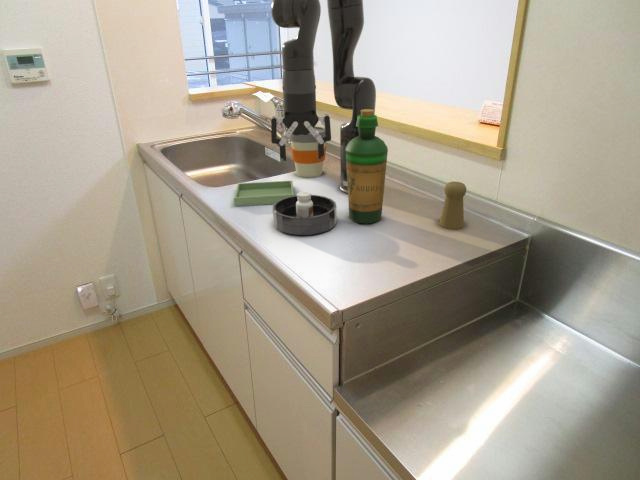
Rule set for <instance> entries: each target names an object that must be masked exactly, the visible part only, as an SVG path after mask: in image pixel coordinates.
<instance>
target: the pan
mask: <svg viewBox="0 0 640 480" xmlns="http://www.w3.org/2000/svg"><path fill="white" fill-rule="evenodd" d="M310 200H311V201H312V202H313V217H297V215H296V202H297V201H298V199H297V195H294V196H291V197H287V198H284V199H281V200H279V201H277V202H276V203H275V204H272V214H273V216H272V217H273V226H274V227H275V229H276V230H278V231H280V232H282V233H284V234H289V235H298V236H309V235H317V234H321V233H324V232H328V231H329V230H331V229H332V228H334V227H335V226H336V224H337V222H338V221H337V220H338V219H337V217H338V215H337V214H338V213H337V211H338V210H337V204H336V201H334V200H333V199H332V198H330V197H327V196H323V195H317V194H311V199H310Z"/></svg>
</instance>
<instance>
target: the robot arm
mask: <svg viewBox="0 0 640 480" xmlns="http://www.w3.org/2000/svg"><path fill="white" fill-rule="evenodd" d="M326 4H327V6H326V7H327V14H328V15H327V16H328V24H329V30H330V40H331V52H332V72H333V73H332V77H333V78H332V79H333V81H332V82H333V83H332V84H333V85H332V86H333V97H334V100H335V104H336V105H337V107H339V108H340V109H343V110H348V111H352V115H351V119H350V120H349V121H346V122H343V123H342V124H340V129H339V130H340V131H339V132H340V133H339V136H340V137H339V138H340V140H339V143H340V144H339V145H340V146H339V147H340V148H339V150H340V153H339V154H340V155H339V156H340V158H339V159H340V189H339V190H340V191H341V192H343V193H344V194H348V184H347V167H346V146H347V145H348V143H349V142H350V141H351V140H352V139H354V138H355V137H357V136H359V131H358V127H357V126H356V122H357V117H358V115H361V110H364V109H372V110H374V114H373V115H376V101H377V89H376V85H375V82H374V81H373V80H372V79H371V78H370V77H366V76H355V72H354V56H355V51H356V48H357V45H358V43H359V40H360V38H361V35H362V33H363V29H364V26H365V14H364V13H365V12H364V0H326ZM321 7H322V6H321V1H320V0H271V6H270V14H271V18H272V21H273V22H274V23H275V24H276V26H277V27H279V28H283V29H298V33H297V35H296V37H295V38H293V39H289V40H287V41H285V42H283V44H282V45H281V60H282V62H281V63H282V79H281V81H282V84H281V85H282V87H281V89H282V96H283V97H282V99H283V101H282V102H283V116H282V117H280V116H275V115H273V116H271V118H270V123H271V125H270V126H271V127H270V129H271V130H270V131H271V135H270V137H271V143H272V144H276V145H277V146H279V157H280V159H281V160H283V162H287V149H286V143H287V141H288V140H289V138H290V136H291V134H293V135H301V134H302V135H308V134H310V133H311V134H312V135H313V136H314V137H315V138H316V140H317V141H318V142H317V144H318V159H321V157H323V156H324V143H325V144H326V143H328V142H331V140H332V130H331V128H332V127H331V117H330V115H329V114H328V113H325V114H324V115H318V114H317V94H316V93H317V92H316V89H317V85H316V75H315V57H314V49H315V48H314V47H315V43H316V37H317V32H318V27H319V23H320V19H321V13H322V11H321ZM319 122H320V123H321V125H322V126H323V127H324V128H325V136H322V137H321V135H320V134H319V133H318V131H317V130H316V129H315V128H314V127H317V124H318V123H319ZM282 123H283V125H284V126H285V127H286V129H285V130H284V132H283V133H282V135H281V137H278V136H277V135H278V133H277V130H278V129H277V128H279V127H280V126H281V124H282Z"/></svg>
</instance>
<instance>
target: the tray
mask: <svg viewBox="0 0 640 480" xmlns="http://www.w3.org/2000/svg"><path fill="white" fill-rule="evenodd" d="M291 196H295V193H294V181H293V180H279V181H258V182H240V183H239V182H238V183H237V184H236V189H235V193H234V196H233V201H234V207H244V206H246V207H247V206H261V205H263V206H264V205H274V204H275V203H276V202H277V201H279V200H281V199H284V198H287V197H291Z"/></svg>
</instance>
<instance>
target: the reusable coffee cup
mask: <svg viewBox="0 0 640 480" xmlns="http://www.w3.org/2000/svg"><path fill="white" fill-rule="evenodd" d="M314 128H315V129H316V130H317V131H318V133H319V134H320V135H321V137H322V136H325V127H322V126H315V127H314ZM288 140H289V141H290V146H291V147H290V151H291V157H292V162H293V163H294V166H295V167H294V168H295V172H296V175H297V177H300V178H309V179H311V178H317V177H321V176H322V174H323V170H324V161H325V160H326V152H327V146H326V142H325V143H324V156H323V157H321V159H318V144H317V142H318V141H317V140H316V138H315V137H314V136H313V135H312V134H311V133H310V134H308V135H302V134H301V135H293V134H291V136H290V137H289V138H288Z"/></svg>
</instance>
